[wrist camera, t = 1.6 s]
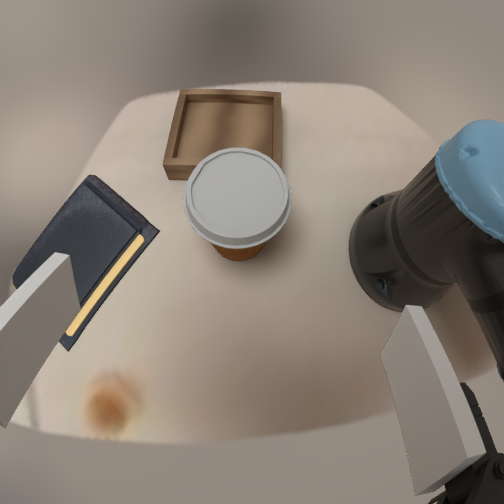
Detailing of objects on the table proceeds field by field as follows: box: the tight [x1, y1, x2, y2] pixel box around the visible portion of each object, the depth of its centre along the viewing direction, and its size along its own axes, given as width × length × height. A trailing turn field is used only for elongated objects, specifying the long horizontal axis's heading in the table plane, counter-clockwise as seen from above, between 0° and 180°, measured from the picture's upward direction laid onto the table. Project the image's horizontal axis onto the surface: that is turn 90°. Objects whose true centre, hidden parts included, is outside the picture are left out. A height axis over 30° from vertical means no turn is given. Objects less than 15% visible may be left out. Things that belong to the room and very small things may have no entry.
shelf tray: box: [163, 89, 281, 180], centre depth 39 cm, size 14×13×4 cm
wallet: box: [12, 175, 160, 352], centre depth 36 cm, size 20×2×15 cm
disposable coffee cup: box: [183, 148, 292, 261], centre depth 32 cm, size 10×10×12 cm
